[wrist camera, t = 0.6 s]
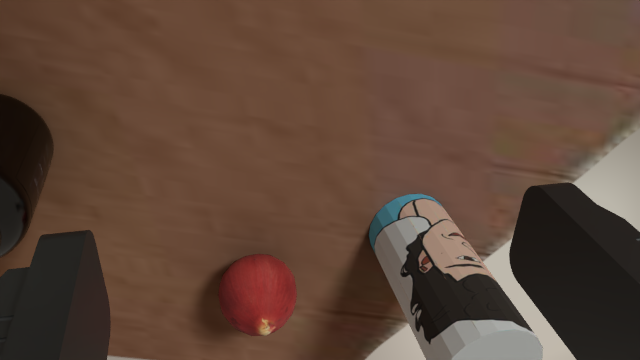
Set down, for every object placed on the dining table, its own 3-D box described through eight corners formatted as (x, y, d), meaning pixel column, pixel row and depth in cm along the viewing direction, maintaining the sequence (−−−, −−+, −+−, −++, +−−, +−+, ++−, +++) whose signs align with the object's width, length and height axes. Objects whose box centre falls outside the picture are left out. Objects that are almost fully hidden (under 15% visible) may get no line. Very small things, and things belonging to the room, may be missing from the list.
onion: (278, 291, 48) (295, 366, 41) (210, 288, 46) (216, 365, 39) (295, 236, 45) (316, 305, 38) (222, 229, 43) (231, 301, 36)
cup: (443, 252, 49) (534, 393, 37) (369, 266, 48) (437, 416, 36) (448, 187, 46) (551, 319, 33) (368, 201, 45) (443, 342, 32)
